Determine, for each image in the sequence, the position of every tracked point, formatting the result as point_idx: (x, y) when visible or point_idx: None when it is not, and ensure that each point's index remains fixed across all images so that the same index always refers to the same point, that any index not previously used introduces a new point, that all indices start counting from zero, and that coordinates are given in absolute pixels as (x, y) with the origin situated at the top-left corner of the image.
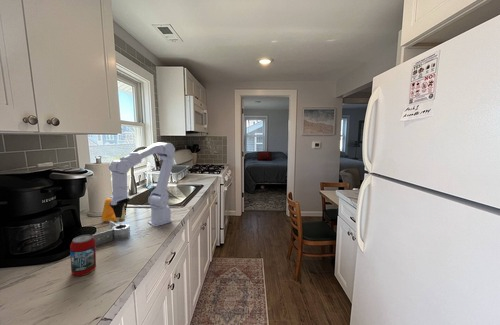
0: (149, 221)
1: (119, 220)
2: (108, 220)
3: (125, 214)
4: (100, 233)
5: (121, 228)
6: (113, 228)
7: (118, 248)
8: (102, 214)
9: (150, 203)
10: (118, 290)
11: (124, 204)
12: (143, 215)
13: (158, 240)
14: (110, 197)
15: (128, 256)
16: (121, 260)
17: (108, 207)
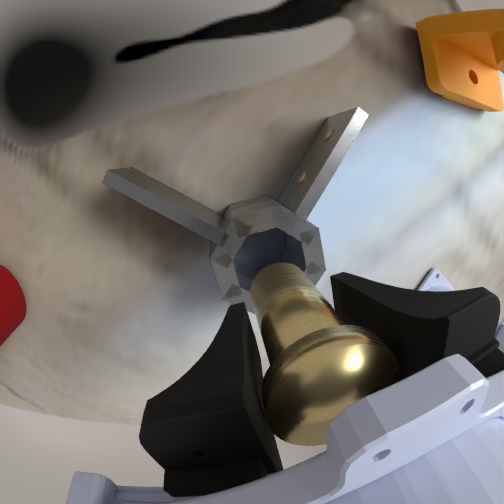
0: (438, 273)
1: (252, 302)
2: (425, 55)
3: (489, 110)
4: (139, 202)
5: (295, 238)
6: (234, 231)
7: (145, 307)
8: (441, 16)
9: (501, 335)
10: (21, 403)
11: (321, 440)
12: (495, 192)
13: None
14: (332, 449)
15: (112, 373)
16: (85, 365)
17: (486, 34)
